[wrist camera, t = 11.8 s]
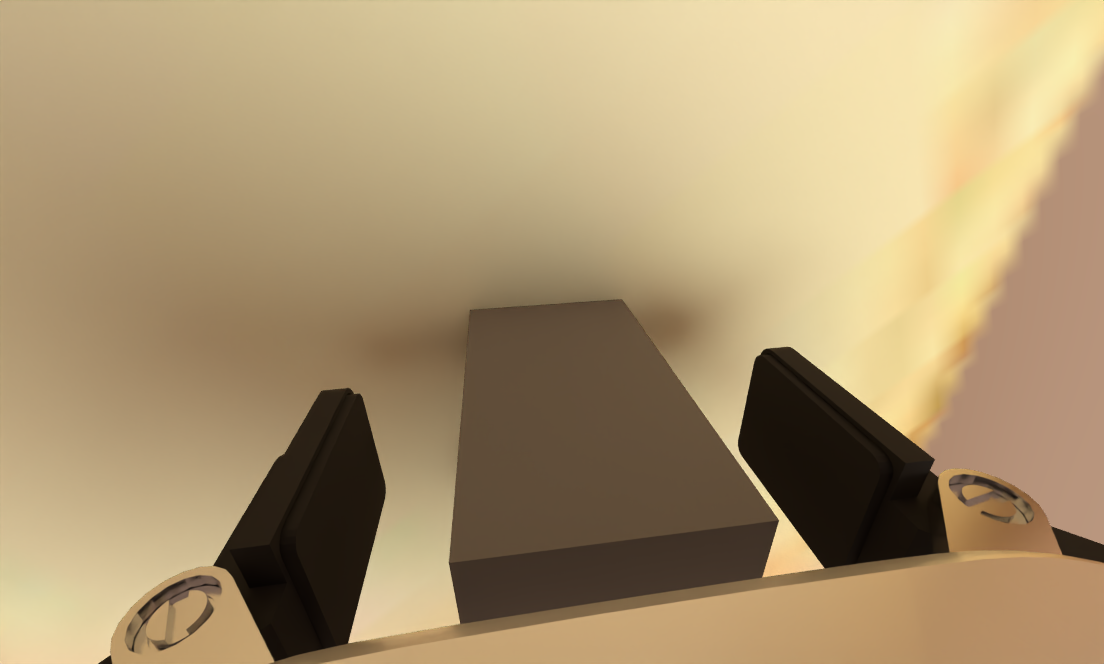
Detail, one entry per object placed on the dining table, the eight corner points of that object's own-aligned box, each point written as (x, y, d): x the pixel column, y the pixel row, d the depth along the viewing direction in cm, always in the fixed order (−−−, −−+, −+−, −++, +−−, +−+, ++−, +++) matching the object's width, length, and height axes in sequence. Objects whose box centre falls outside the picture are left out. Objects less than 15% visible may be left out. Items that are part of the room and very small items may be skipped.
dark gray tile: (470, 309, 14) (449, 562, 6) (621, 299, 15) (779, 520, 7) (476, 363, 15) (464, 644, 7) (619, 351, 16) (755, 600, 8)
